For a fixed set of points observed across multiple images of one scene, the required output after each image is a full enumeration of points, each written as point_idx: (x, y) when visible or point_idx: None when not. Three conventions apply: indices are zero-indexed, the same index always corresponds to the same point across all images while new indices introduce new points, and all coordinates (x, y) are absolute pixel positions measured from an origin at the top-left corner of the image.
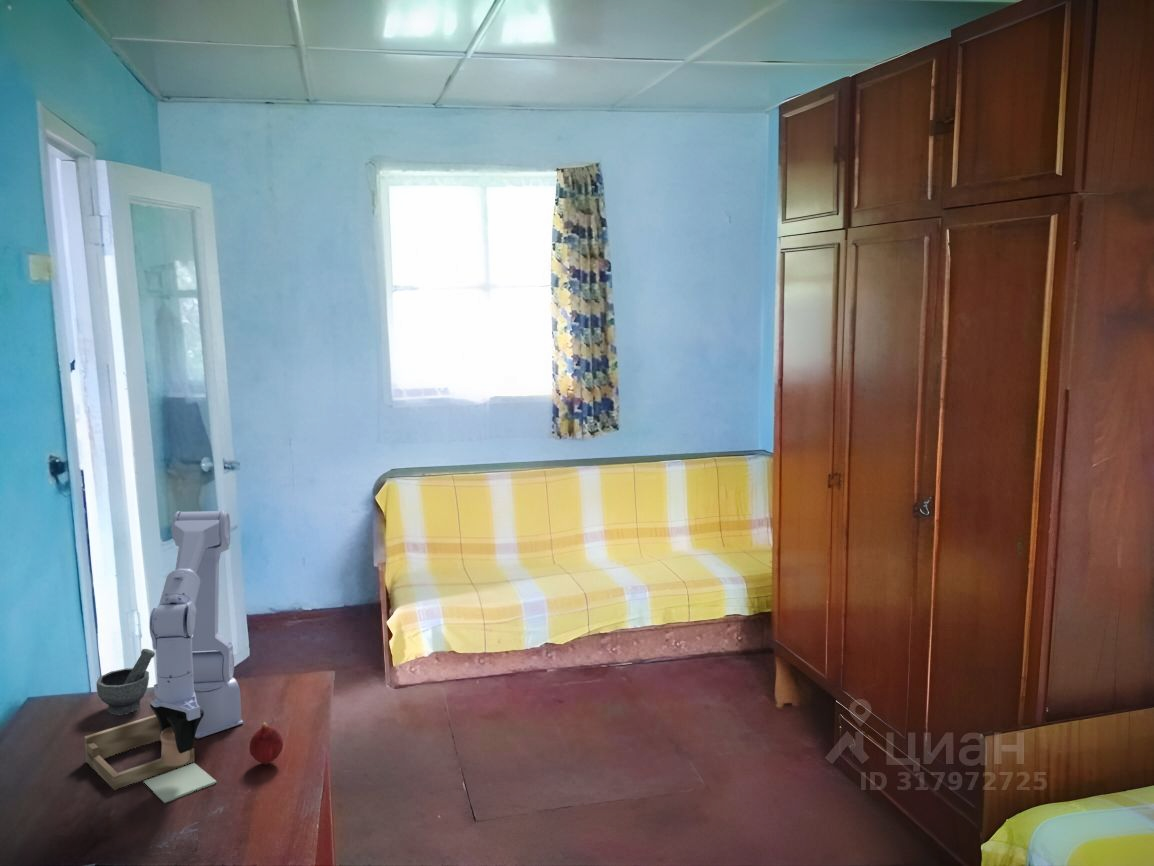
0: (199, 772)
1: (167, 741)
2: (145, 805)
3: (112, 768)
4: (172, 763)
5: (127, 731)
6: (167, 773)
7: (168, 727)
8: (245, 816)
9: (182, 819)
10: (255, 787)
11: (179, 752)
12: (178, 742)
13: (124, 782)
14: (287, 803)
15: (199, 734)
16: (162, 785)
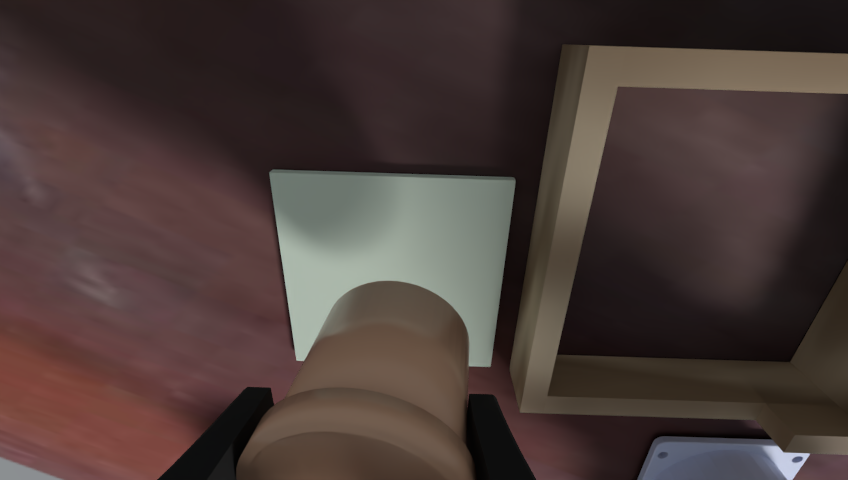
0: None
1: (281, 418)
2: (308, 99)
3: (697, 86)
4: (330, 312)
5: None
6: (494, 274)
7: None
8: (4, 322)
9: (88, 164)
10: (190, 411)
11: (253, 388)
12: (180, 459)
13: (560, 102)
14: (34, 424)
15: (668, 452)
16: (410, 220)
